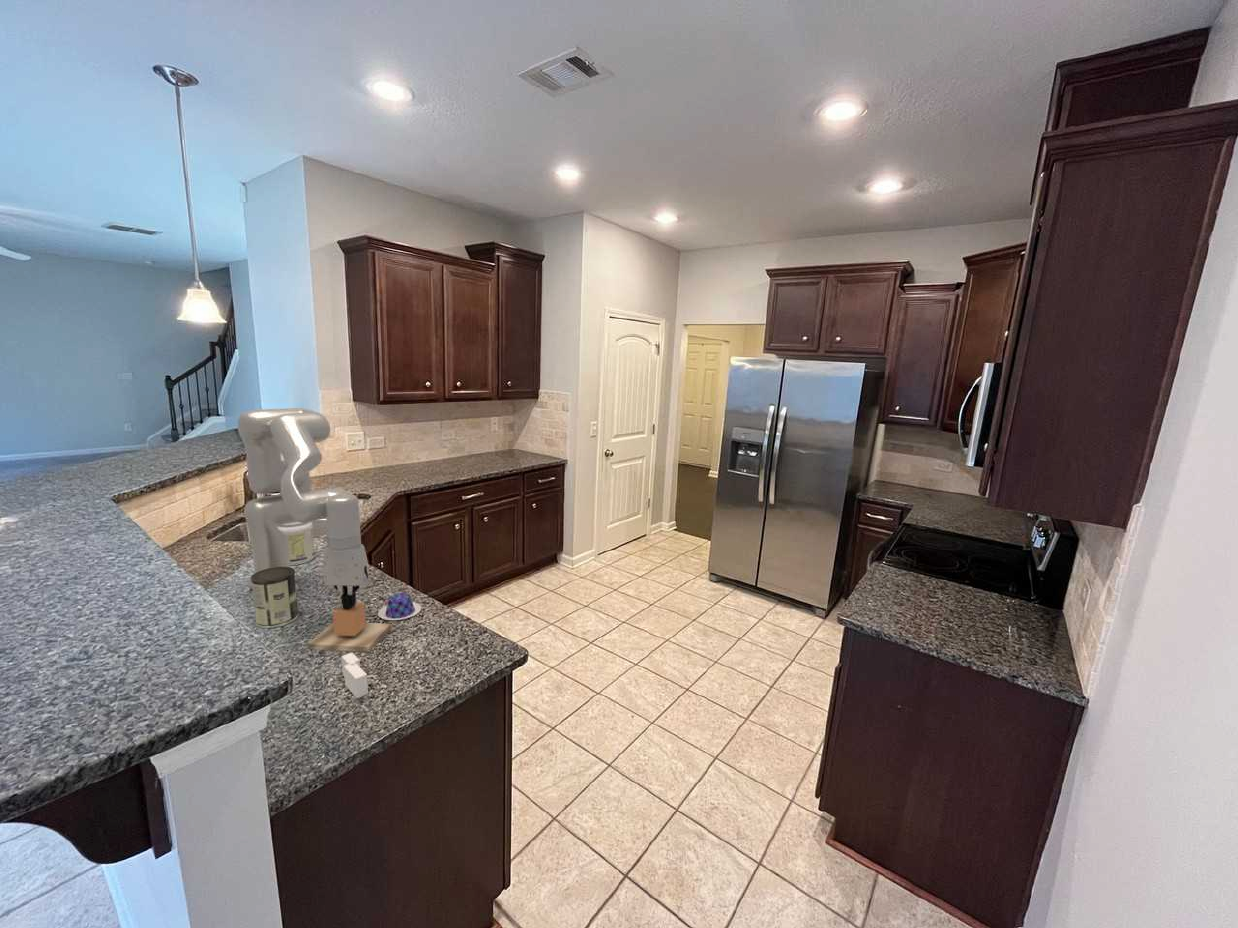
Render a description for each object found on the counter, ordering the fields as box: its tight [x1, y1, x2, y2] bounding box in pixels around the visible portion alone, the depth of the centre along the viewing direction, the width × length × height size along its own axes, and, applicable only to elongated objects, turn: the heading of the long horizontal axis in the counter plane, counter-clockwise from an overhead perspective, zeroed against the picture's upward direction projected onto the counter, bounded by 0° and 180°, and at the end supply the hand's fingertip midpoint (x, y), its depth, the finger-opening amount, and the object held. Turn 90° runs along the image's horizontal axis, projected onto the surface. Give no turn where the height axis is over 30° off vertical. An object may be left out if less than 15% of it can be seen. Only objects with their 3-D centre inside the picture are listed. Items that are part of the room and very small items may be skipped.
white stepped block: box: [340, 652, 369, 699], centre depth 118 cm, size 15×11×6 cm
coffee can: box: [250, 567, 299, 629], centre depth 144 cm, size 10×10×14 cm
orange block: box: [332, 602, 367, 636], centre depth 136 cm, size 6×6×7 cm
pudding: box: [377, 592, 422, 621], centre depth 152 cm, size 12×12×5 cm
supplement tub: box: [278, 521, 316, 566], centre depth 187 cm, size 12×12×17 cm
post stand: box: [307, 622, 392, 653], centre depth 136 cm, size 16×12×8 cm
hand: (349, 606), depth 135 cm, fingers closed
